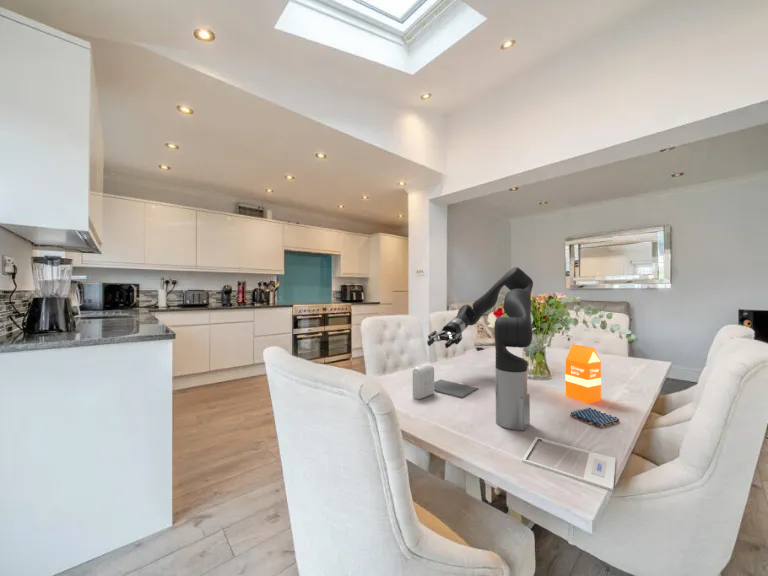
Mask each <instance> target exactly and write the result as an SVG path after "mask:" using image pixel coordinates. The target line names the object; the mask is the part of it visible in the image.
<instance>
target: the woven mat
mask: <svg viewBox="0 0 768 576" xmlns="http://www.w3.org/2000/svg"><path fill="white" fill-rule="evenodd" d="M569 417H570V418H572V419H574V420H577V421H580V422H582V423H584V424H587V425H589V426H592V427H594V428H597V429H600V430H602V429H604V428H606V429H607V428H608V427H611V426H613V425H618V424H621V422H620V418H619V417H617V416H612V415H611V414H607V413H606V412H601V411H600V410H599V411H598V410H597V409H593V408H592V407H587V408H586V407H585V408H582V409H579V410H576V411H574V410H573V411H570V413H569Z"/></svg>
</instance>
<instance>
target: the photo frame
mask: <svg viewBox="0 0 768 576" xmlns="http://www.w3.org/2000/svg"><path fill="white" fill-rule="evenodd" d="M538 440H539V441H541V442H544V443H547V444H551V445H555V446H558V447H561V448H565V449H568V450H573V451H576V452H580V453H583V454H587V455H588V457H587V461H586V465H585V469H584V474H583V477H582V476H579V475H575V474H572V473H569V472H567V471H566V472H565V471H563V470H559V469H556V468H554V467H550V466H547V465H545V464H541V463H537V462H535V461H532V460H528V459H527V458H528V456H529V454H530V453H531V452H532V450H533V448H534V446H535V444H536V443H537V441H538ZM521 462H522V463H525V464H528V465H531V466H534V467H537V468H541V469H543V470H546V471H549V472H552V473H555V474H559V475H561V476H565V477H568V478H570V479H573V480H574V479H575V480H578V481H580V482H583V483H586V484H589V485H592V486H595V485H596V486H595V487H598V486H600V487H599V488H601V487H603V488H602V489H604V488H607V489H608V490H607V489H606V490H607V491H611V492H614V487H615V486H614V483H615V471H616V458H615V457H613V456H608V455H605V454H601V453H598V452H594V451H589V450H587V449H582V448H579V447H575V446H572V445H569V444H568V445H567V444H564V443H561V442H557V441H553V440H549V439H545V438H541V437H537V436H535V438H534V439H533V441H532V443H531V444H530V446H529V448H528V449H527V451H526V453H525V454H524V456H523V457H522V459H521Z"/></svg>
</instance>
